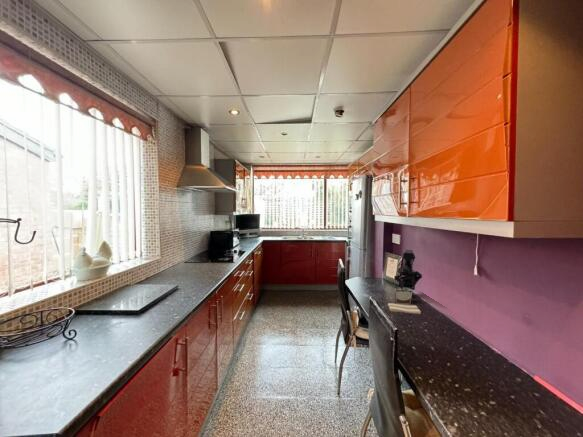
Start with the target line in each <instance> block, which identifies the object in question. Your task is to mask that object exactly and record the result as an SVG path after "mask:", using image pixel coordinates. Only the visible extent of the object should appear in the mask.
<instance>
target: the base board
mask: <svg viewBox="0 0 583 437" xmlns="http://www.w3.org/2000/svg"><path fill="white" fill-rule="evenodd" d="M387 306H388V308H389V310H390V312H396V313H406V314H419V315H421V314H422V311H421V310H420V309H419V307H418V306H417V305H415V304H399V303H392V302H388V303H387Z"/></svg>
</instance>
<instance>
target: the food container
mask: <svg viewBox="0 0 583 437" xmlns="http://www.w3.org/2000/svg"><path fill="white" fill-rule="evenodd" d="M413 291H414V290H411V289H408V288H403V289H401V287H400V286H399V287H395V289H394V293H395V301H396V303H395V304H406V305H411V303H412V302H411V301H412V298H411V296H412V297H413V293H414V292H413Z"/></svg>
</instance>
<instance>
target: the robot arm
mask: <svg viewBox="0 0 583 437" xmlns="http://www.w3.org/2000/svg"><path fill="white" fill-rule="evenodd" d="M414 254H415V253H414V251H413V250H412V249H411V250H410V249H406V250H405V251H404V253H403V254H402V259H403V267H398V268H397V273H398V275H394V278H393V279H394V280H395V281H397V282H398V284H399V287H401V289H403V288H408V289H411V290H412V291H414V290H416V289H415V288H416V285H417V284H418V282H419V280H421V279H422V278H423V274H422V273H420V272H419V271H417V270H415V271H414V269H413V265H414V264H413V262H415V261H414V259H416V255H414ZM400 274H401V275H400ZM413 298H414V297H413V295H412V296H411V299H413Z"/></svg>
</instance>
